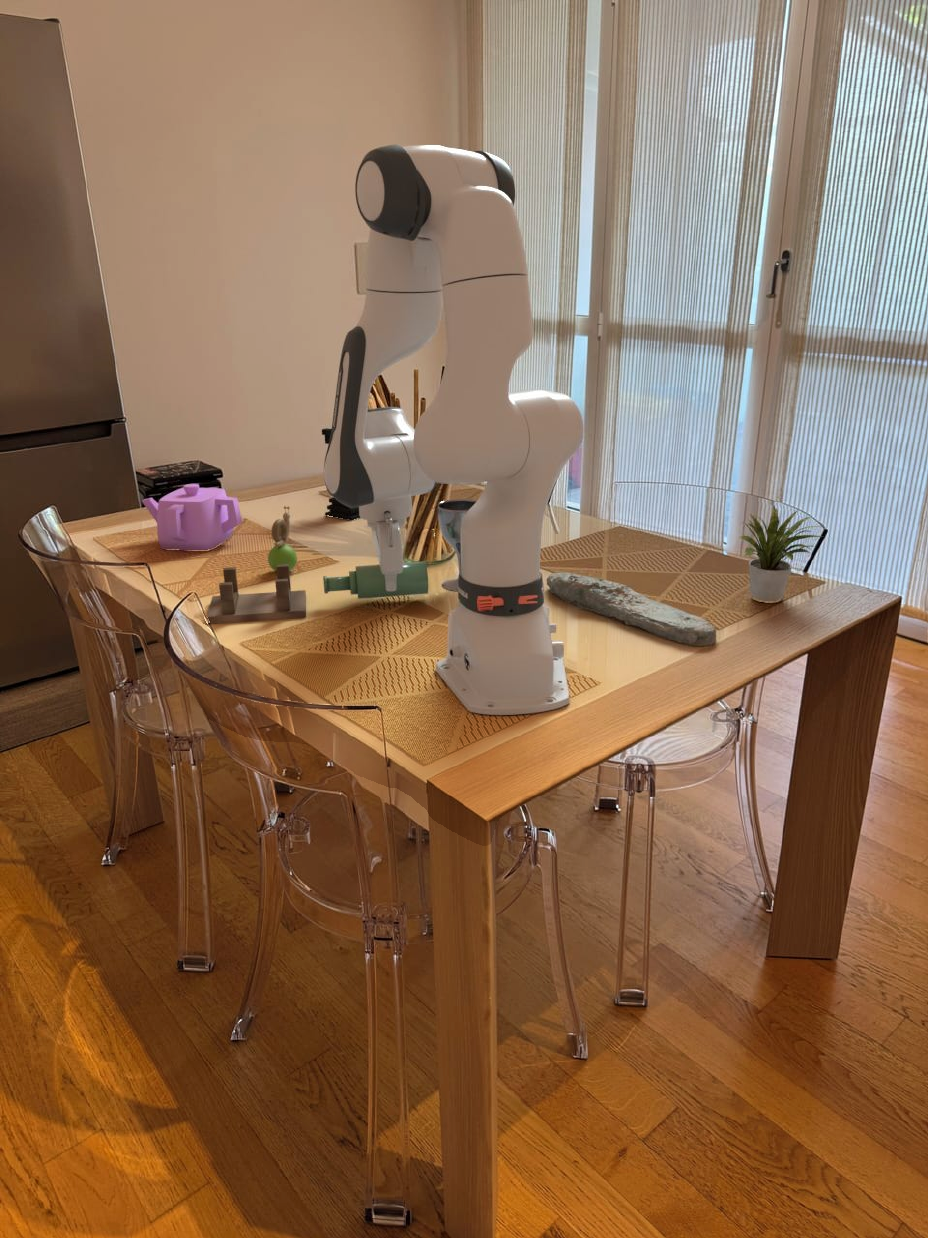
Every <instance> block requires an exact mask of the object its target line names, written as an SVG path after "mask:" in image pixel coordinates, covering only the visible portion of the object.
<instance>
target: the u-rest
mask: <svg viewBox="0 0 928 1238" xmlns="http://www.w3.org/2000/svg"><path fill="white" fill-rule="evenodd" d="M222 572H223V573H222V574H223V581H224V582H219V584H218V588H219V595H212V596H211V601H210V604H209V607H208V611H207V614H206V618H207V617H208V619H209V621H210V624H209V625H212V624H228V623H241V622H254V621H255V622H256V621H268V620H269V621H270V620H286V619H299V618H300V619H301V618H307V593H306V590H304V589H302V590H292V588H291V575H290V571H289V564H280V565H277V571H276V573H277V574H276V575H277V578H276V579H275V583H274V584H275V591H274V592H272V591H271V592H260V593H259V592H256V593H242V594H241V593H240V594H239V584H238V576H237V567H236V566H232V567H231V566H230V567H223V570H222Z"/></svg>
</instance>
